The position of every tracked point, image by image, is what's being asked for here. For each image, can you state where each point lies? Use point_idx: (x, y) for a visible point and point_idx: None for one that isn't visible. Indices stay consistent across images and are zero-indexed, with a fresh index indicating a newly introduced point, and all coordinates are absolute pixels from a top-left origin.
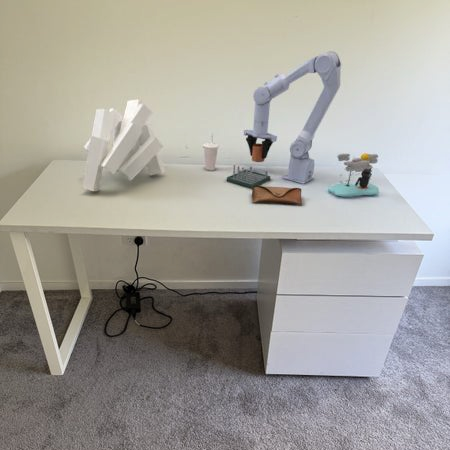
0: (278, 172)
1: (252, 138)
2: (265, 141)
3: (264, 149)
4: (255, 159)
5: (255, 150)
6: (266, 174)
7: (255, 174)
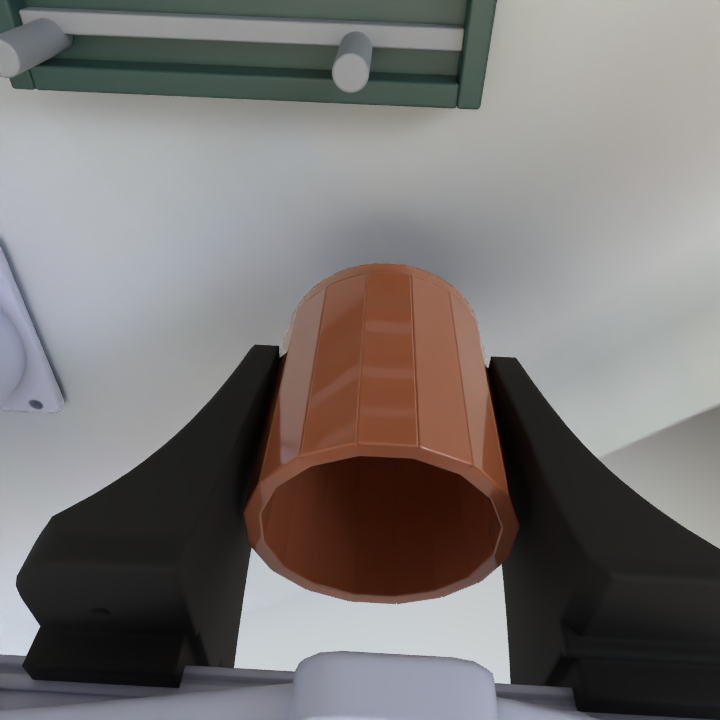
0: (184, 362)
1: (563, 636)
2: (106, 598)
3: (184, 443)
4: (370, 282)
5: (384, 384)
6: (14, 30)
7: (240, 20)
